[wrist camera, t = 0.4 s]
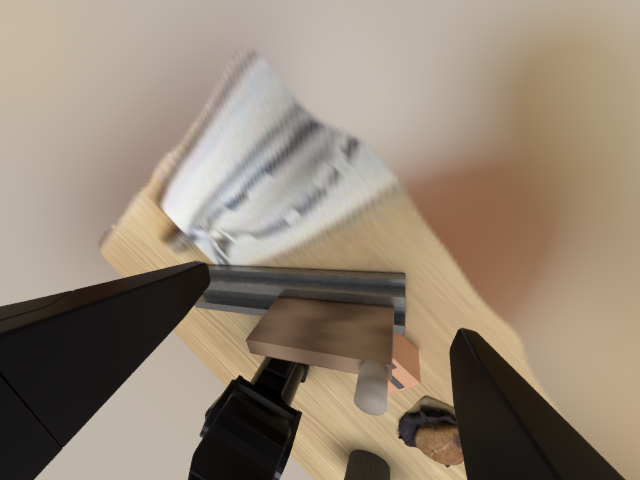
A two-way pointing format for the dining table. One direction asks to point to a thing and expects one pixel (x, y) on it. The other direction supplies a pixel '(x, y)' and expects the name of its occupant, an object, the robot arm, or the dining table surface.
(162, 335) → the robot arm
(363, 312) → the screen
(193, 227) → the dining table surface
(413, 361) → the lettered cube
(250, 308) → the track
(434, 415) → the bread roll
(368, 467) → the coffee cup
